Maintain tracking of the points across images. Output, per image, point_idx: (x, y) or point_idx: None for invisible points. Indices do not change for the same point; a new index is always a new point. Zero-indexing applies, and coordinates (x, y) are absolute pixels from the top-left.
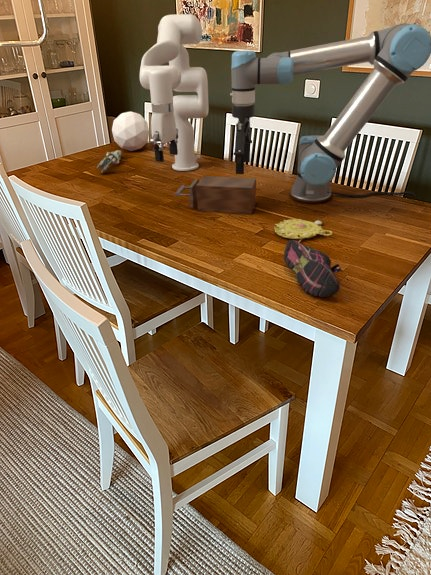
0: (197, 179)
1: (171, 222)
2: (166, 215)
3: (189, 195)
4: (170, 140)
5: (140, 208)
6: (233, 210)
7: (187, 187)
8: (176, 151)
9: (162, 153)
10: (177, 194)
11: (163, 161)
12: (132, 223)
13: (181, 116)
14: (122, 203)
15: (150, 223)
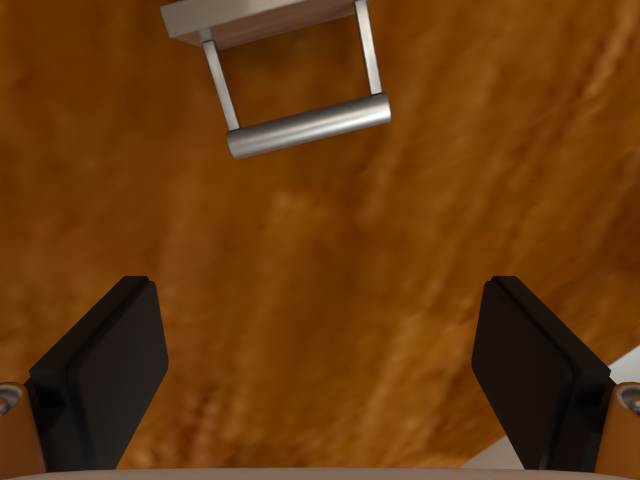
0: (177, 7)
1: (567, 27)
2: (480, 111)
3: (366, 2)
4: (309, 477)
5: (432, 283)
6: None
7: (233, 103)
8: (127, 300)
9: (575, 338)
10: (386, 99)
11: (494, 277)
12: (612, 219)
13: None
14: (403, 382)
15: (599, 135)
